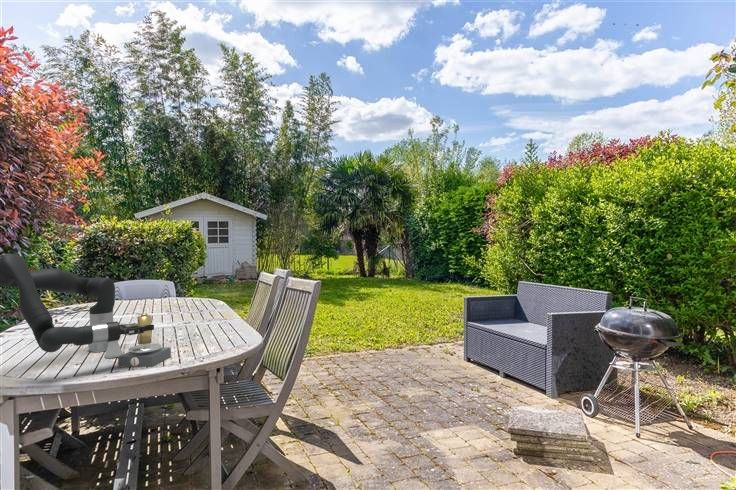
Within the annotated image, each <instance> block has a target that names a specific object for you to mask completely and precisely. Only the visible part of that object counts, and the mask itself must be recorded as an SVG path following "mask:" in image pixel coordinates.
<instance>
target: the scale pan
mask: <svg viewBox="0 0 736 490" xmlns="http://www.w3.org/2000/svg"><path fill="white" fill-rule="evenodd" d="M161 347H162V344H160V343H149V344H137V345H134V346H131V347H129V348H128V352H129V353H136V354H137V353H148V352H153V351H157V350H159V349H161Z"/></svg>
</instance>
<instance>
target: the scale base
mask: <svg viewBox="0 0 736 490" xmlns="http://www.w3.org/2000/svg"><path fill="white" fill-rule="evenodd" d="M171 351H172V349H171V347H162V346H161V349H159V350H157V351H153V352H148V353H137V354H136V353H129V351H128V352H125V353H123V355H120V356H118V357H117V366H118V367H121V368H122V367H125V368H126V367H128V368H129V367H132V368H134V367H136V368H137V367H141V368H142V367H147V368H148V367H150V368H151V367H154V366H156V365H158V364H160V363H162V362H164V361H166V360H168V359H169V358H171V357H172V352H171Z"/></svg>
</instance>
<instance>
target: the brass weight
mask: <svg viewBox="0 0 736 490" xmlns="http://www.w3.org/2000/svg"><path fill="white" fill-rule="evenodd" d="M137 323H138V326H142V325H143V326H145V325H152V315H150V314H148V313H147V312H145V313H141V314H140V315H139V316H137ZM138 331H141V329H138ZM152 332H153V331H152V330H150V331H144V333H140V334H137V345H143V344H153V343H152V342H153V341H152Z"/></svg>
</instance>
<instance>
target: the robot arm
mask: <svg viewBox="0 0 736 490" xmlns="http://www.w3.org/2000/svg"><path fill="white" fill-rule="evenodd" d="M0 287H6V288H7V287H9V288H18V294H19V295H18V296H19V297H18V298H19V299H18V300H19V303H18V304H19V310H20V313H21V315H22V317H23V318H24V320H25V322H26V323H27V325H28V326H29V327H30V329H31V331H32V335H33V336H34V338H35V341H36V343H37V345H38V347H39V348H40V349H41V350H42V351H44V352H46V353H55V352H57V351H59V350H61V348H62V347H63V345H74V346H78V347H79V346H86V345H88V346H87V347H88V352H92V353H101V352H106V350H107V347H108V345H109V342H112V341H118V342H119V341H120V339H121V336H122V335H124V336H135V335H138V334H140V333H144V331H150V330H151V331H154V330H155V324H152V323H151V325H145V326H143V325H142V326H138V322H137V323H136V322H134V323H132V322H131V323H122V324H120V323H119V321H118V320H117V321H114V307H115V302H116V301H115V300H116V286H115V282H114V280H113V279H112V278H109V277H83V276H78V275H76V274H75V273H73V272H70V271H68V270H64V269H60V268H42V269H37V270H36V269H35V270H30V268H29V266H28V265H27V263H26V261H25V260H24V258H22V257H21V256H19V255H17V254H15V253H6V254H4V255H2V256H0ZM38 290H43V291H49V292H55V293H65V294H67V293H68V294H71V293H73V294H77V295H82V296H86V297H89V298H94V299H97V301H96V303H95V304H94V305H92V306H90V307H89V313H88V314H89V325H82V326H55V325H54V322H53V317H52V315H51V314H50V312H49V310H48V308H47V307H46V306H45V304H44V303H43V300H42V299H41V297H40V294H39V291H38ZM138 329H141V331H138Z"/></svg>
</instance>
